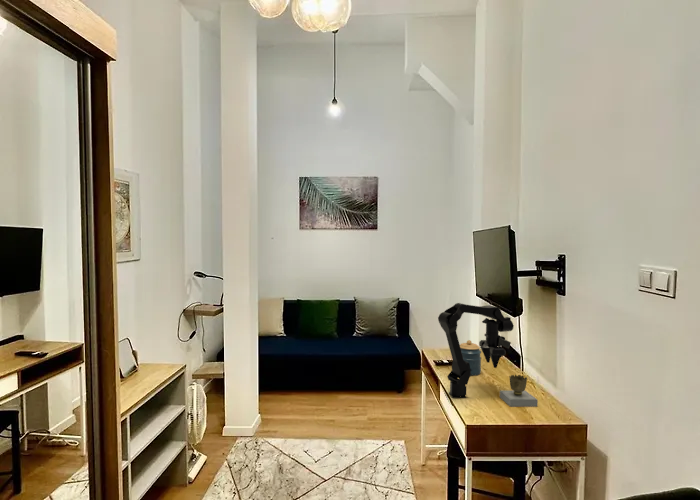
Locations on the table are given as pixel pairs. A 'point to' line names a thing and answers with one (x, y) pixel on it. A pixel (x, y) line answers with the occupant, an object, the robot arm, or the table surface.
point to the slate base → (518, 399)
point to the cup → (518, 384)
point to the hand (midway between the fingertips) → (491, 365)
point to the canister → (472, 356)
